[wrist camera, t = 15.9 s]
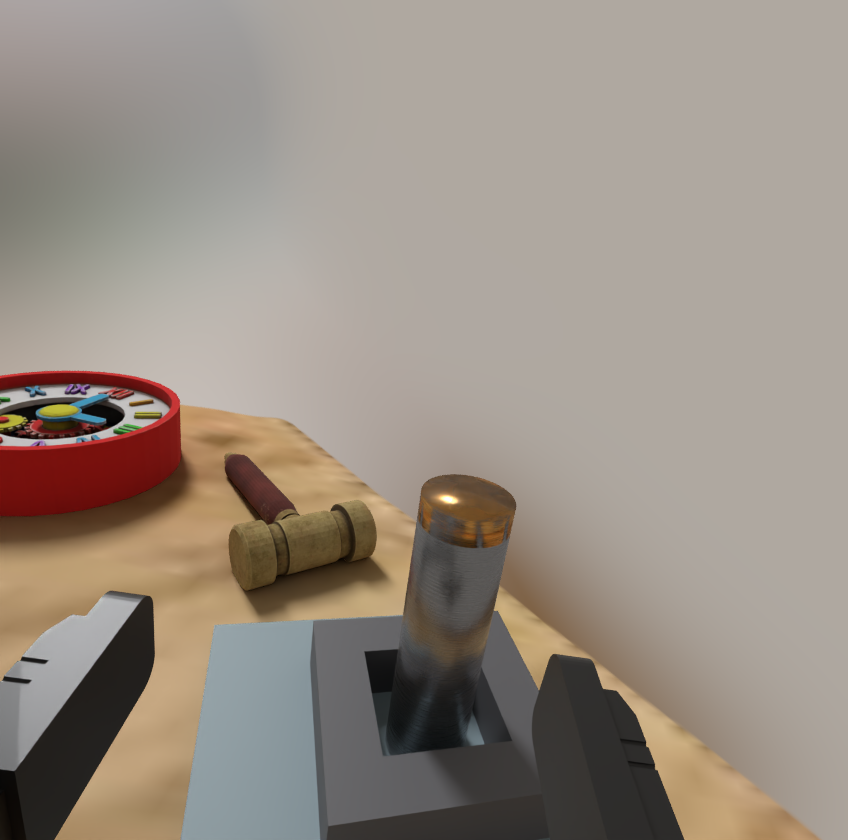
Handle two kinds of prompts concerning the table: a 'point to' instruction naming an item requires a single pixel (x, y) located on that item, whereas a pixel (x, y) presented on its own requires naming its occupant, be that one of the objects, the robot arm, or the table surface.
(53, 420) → the toy clock
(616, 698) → the robot arm
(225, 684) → the dock
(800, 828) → the table surface
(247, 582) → the gavel
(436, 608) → the chrome cylinder
